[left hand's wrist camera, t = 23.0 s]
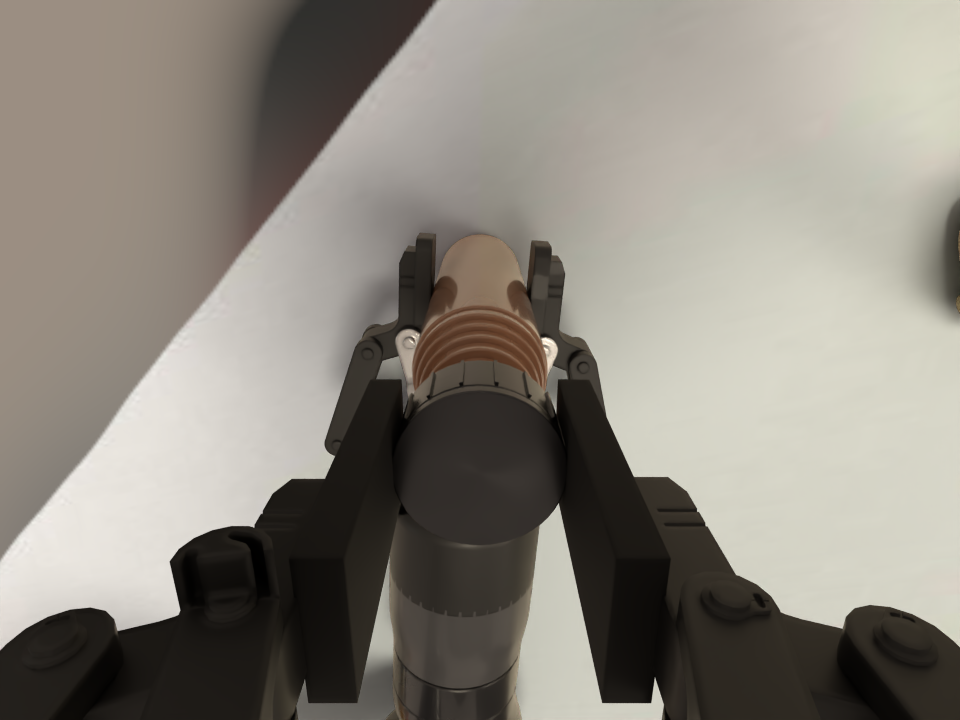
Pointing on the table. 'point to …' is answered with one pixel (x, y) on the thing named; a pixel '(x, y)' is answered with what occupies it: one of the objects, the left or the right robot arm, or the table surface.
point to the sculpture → (959, 299)
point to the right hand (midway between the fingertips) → (483, 241)
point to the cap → (479, 454)
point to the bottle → (479, 313)
